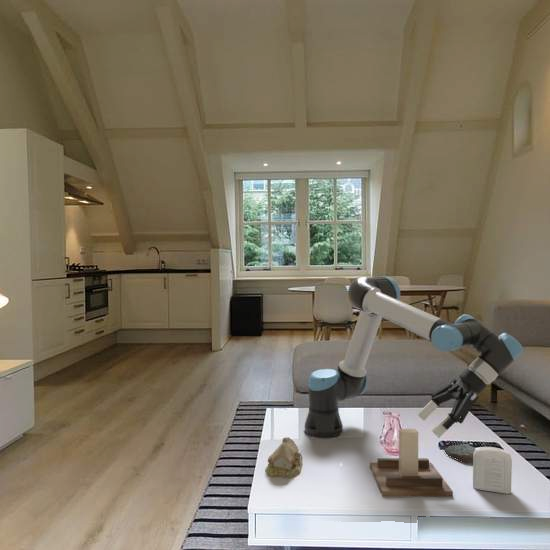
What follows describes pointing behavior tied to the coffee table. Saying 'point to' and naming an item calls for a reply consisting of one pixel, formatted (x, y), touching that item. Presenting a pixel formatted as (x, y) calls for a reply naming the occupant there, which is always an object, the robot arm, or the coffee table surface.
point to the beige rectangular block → (408, 452)
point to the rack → (408, 479)
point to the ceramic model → (285, 460)
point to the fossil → (461, 452)
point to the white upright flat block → (492, 469)
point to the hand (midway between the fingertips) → (427, 425)
